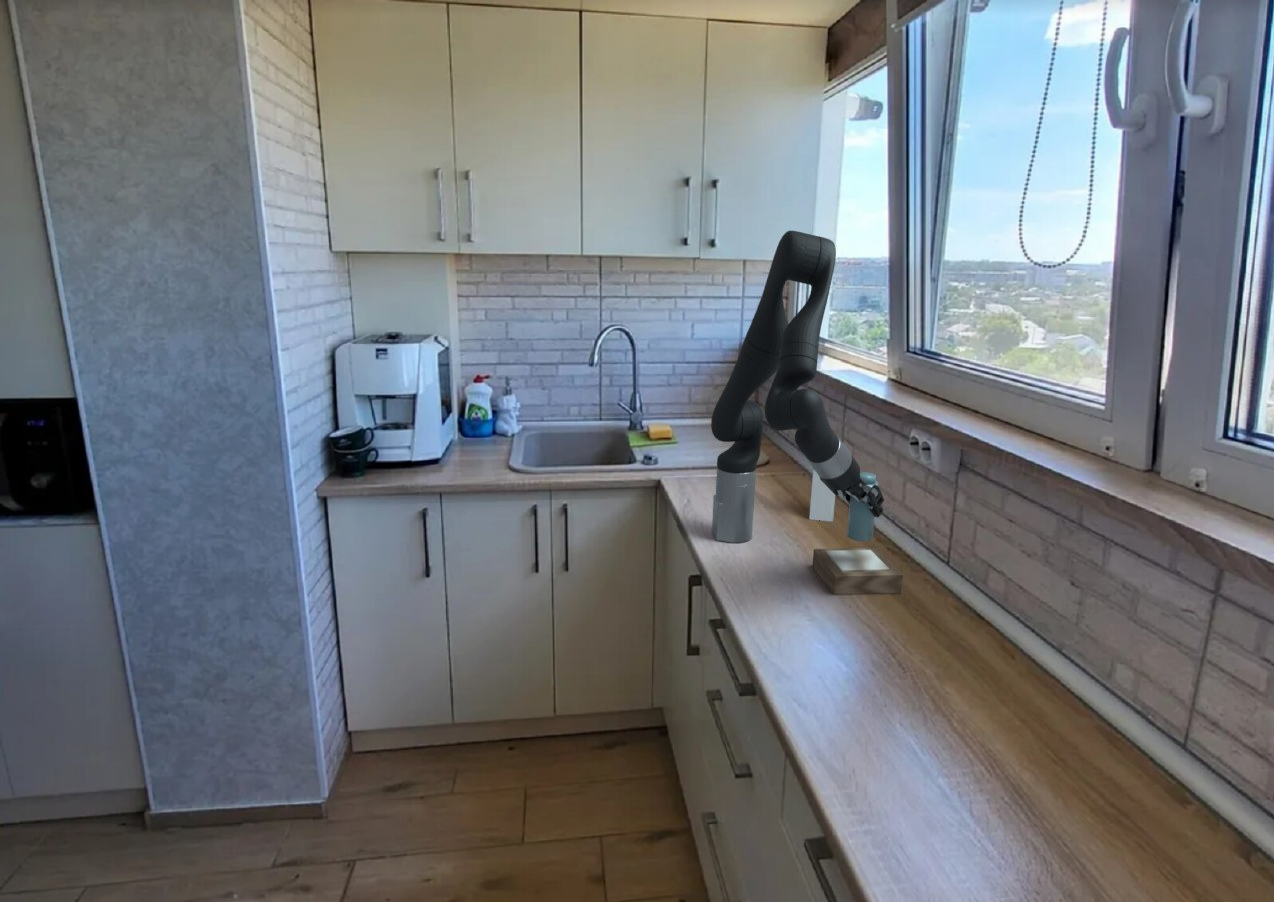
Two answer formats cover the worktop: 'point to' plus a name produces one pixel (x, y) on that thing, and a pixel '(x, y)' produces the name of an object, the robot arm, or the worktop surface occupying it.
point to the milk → (821, 500)
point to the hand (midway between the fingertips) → (867, 509)
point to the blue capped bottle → (861, 514)
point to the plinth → (857, 571)
